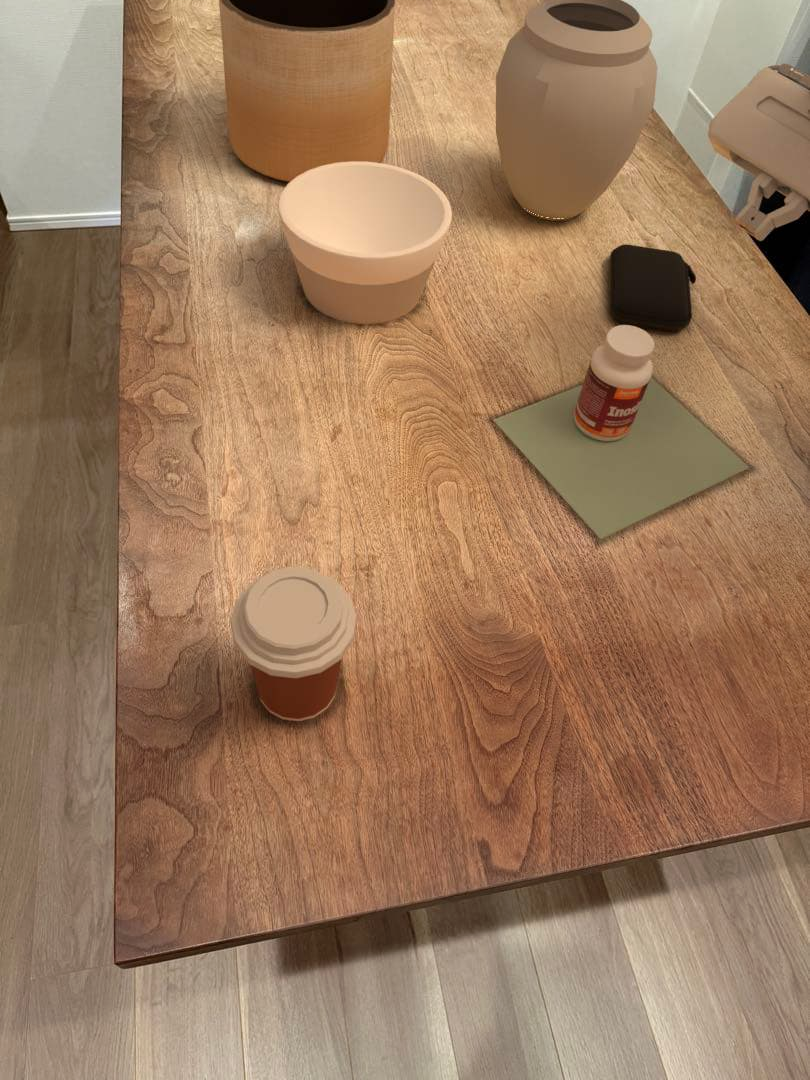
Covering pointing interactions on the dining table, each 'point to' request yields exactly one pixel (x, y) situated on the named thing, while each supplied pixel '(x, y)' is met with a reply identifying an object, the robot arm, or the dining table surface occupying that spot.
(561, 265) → the dining table surface
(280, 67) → the planter
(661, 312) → the carrying case
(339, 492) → the dining table surface
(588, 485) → the mat
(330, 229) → the bowl
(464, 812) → the dining table surface
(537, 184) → the vase
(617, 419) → the pill bottle
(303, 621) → the coffee cup
